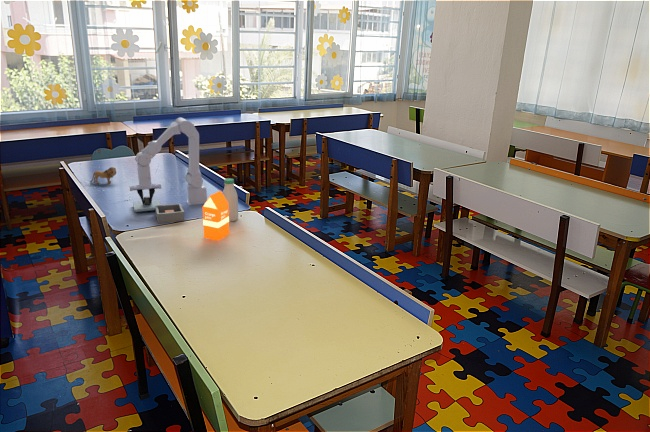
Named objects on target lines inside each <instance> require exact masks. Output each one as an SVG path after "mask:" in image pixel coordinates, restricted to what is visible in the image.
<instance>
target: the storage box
mask: <svg viewBox="0 0 650 432" xmlns="http://www.w3.org/2000/svg"><path fill="white" fill-rule="evenodd" d="M165 210H174V212H168V213H165ZM154 211H155V212H154V213H155V217H156V221H157V223H158V224H165V223H173V222H183V221H185V220H186V219H185V211H184V209H183V205H182V204H181V203H171V204H161V205H158V206H155V210H154Z"/></svg>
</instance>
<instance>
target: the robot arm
mask: <svg viewBox="0 0 650 432" xmlns="http://www.w3.org/2000/svg"><path fill="white" fill-rule="evenodd" d="M181 133H183V134H184V135H186V137H187V138H188V168H187V170H186V171H187V173H186V175H185V182H187V186H186V187H187V200H186V202H187V204H188V205H189V206H191V205H192V206H193V205H204V204H205V203H206V201H207V200H208V193H207V187H206V185H203V184H204V179H203V178H202V172H201V170H200V133H199V131H198V130H197V128H196V126H195V124H194V123H192V122H191V121H189V120H187V119H185V118H184V117H177V118H176V119H175V120H174V121H172V122H171V124H169V126H168V127H167V128H166V129H165V130H164V131H163V132H162V134H161V135H160V136H158V138H157V139H156V140H151V141H149V142H148V143H147V145H146V146H145V147H144V148H142V149H141V150H140V151H139V152H137V154H135V157H134V160H135V161H136V162H137V164H136V165H137V175H138V176H137V178H138V184H137V185H131V186H129V191H130V192H133V191H136V193H137V194H138V196H139V198H140V201H142V203H143V204H144V193H143V190H145V191H146V190H148V193H149V197H150V204H152V200H153V197H154V194H155V192H156V190H157V189H159V190H161V189H162V184H161V183H152V175H151V166H150V164H151V162H152V159H153V158H155V157H156V155H157V154H158V153H160V151H161V150H162V146H163V145H164V144H165V143H166V142H167V141H168V140H170V139H171V138H172V137H173V136H175V135H181Z"/></svg>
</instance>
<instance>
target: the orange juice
mask: <svg viewBox="0 0 650 432" xmlns="http://www.w3.org/2000/svg"><path fill="white" fill-rule="evenodd" d="M222 192H223V191H222V190H221V189H220V190H219V191H217V192H214V193H212V194H210V195H209V197H207V201H206V203H204V204H203V206H202V224H203V237H204V238H205V239H208V240H213V241H218V242H219V241H221V240H222V239H224V238H225V237H228V235H230V222H229V206H228V202H227V200H226V199H225V197H224V195H223V194H222Z"/></svg>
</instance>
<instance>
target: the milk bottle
mask: <svg viewBox="0 0 650 432" xmlns="http://www.w3.org/2000/svg"><path fill="white" fill-rule="evenodd" d="M223 183H224V188H223V189H222V191H221V192H222V194H223V195H224V197H225V199H226V200H227V202H228V206H229V223H231V222H236V221H238V219H239V200H238V199H239V197H238V193H237V190H236V188H235V186H234V185H235V180H234V178H229V177H228V178H224V179H223Z"/></svg>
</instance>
